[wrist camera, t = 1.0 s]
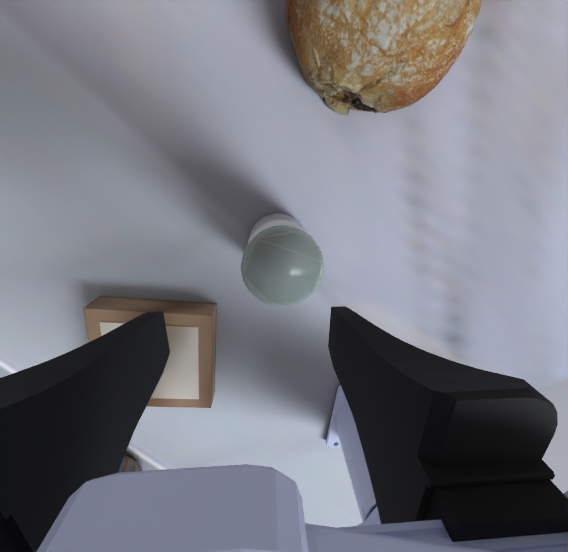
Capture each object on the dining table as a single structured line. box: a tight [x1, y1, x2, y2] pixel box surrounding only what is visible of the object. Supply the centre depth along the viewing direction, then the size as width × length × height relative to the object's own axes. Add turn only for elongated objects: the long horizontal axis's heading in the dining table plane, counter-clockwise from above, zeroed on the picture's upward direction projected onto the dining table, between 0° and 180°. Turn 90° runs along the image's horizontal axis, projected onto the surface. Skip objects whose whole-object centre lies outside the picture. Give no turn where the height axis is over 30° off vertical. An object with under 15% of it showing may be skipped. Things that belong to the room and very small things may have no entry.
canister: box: [241, 213, 324, 306], centre depth 18 cm, size 5×5×6 cm
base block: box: [83, 296, 216, 408], centre depth 22 cm, size 9×9×2 cm
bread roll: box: [286, 0, 481, 115], centre depth 14 cm, size 10×10×8 cm
